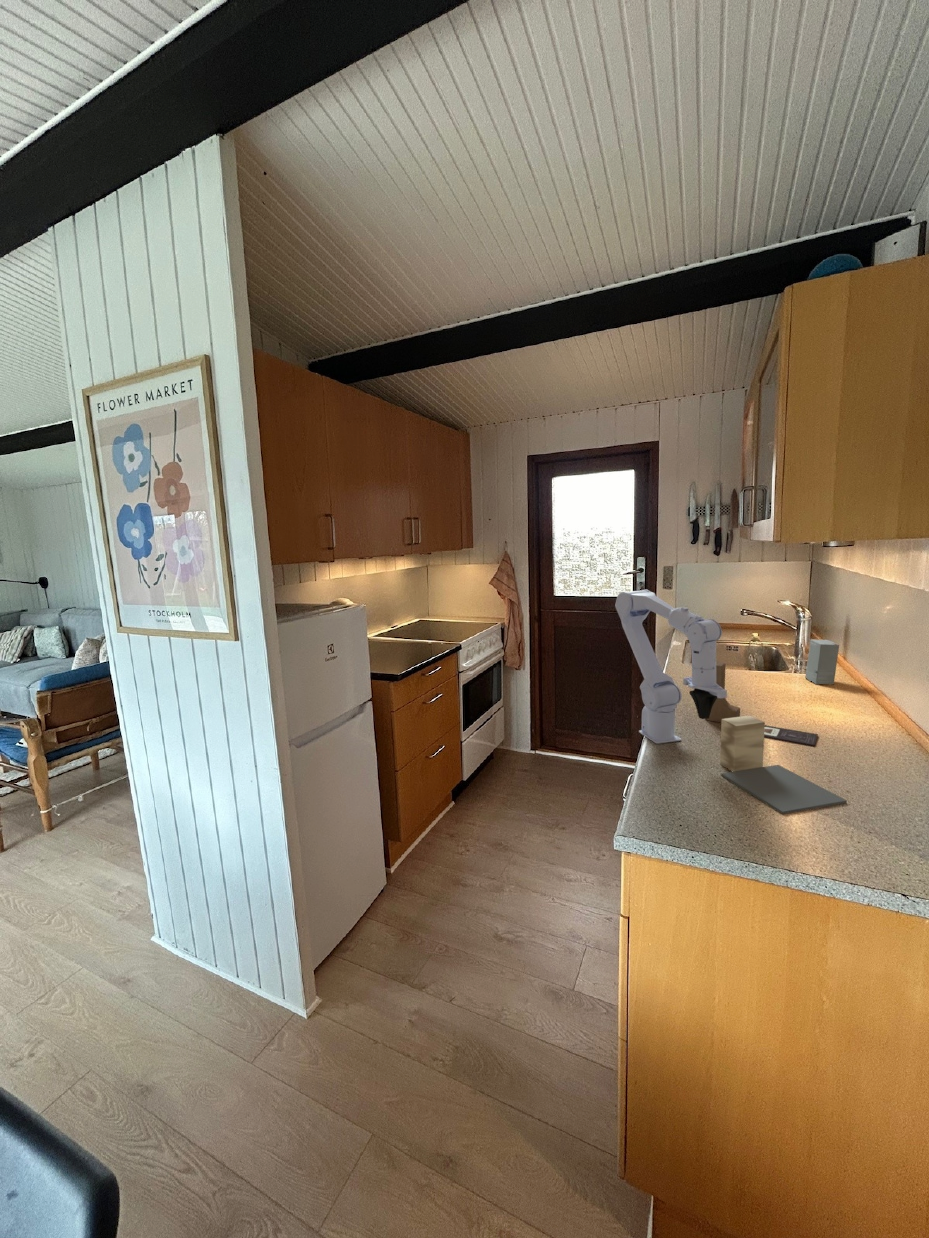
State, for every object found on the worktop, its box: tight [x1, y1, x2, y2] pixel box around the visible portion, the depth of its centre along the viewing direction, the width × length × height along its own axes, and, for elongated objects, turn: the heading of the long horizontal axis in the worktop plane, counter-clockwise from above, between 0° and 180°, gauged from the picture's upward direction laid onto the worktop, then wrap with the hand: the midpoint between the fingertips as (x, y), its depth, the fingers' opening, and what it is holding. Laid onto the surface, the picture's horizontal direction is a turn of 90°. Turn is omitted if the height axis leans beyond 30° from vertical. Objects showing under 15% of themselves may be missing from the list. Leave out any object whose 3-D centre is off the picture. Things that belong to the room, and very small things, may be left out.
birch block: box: [719, 715, 766, 772], centre depth 124 cm, size 5×8×12 cm, turn 102°
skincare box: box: [805, 638, 840, 685], centre depth 189 cm, size 8×7×16 cm
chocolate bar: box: [764, 724, 819, 748], centre depth 144 cm, size 9×1×18 cm
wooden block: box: [704, 661, 741, 724], centre depth 154 cm, size 9×4×18 cm, turn 49°
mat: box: [720, 764, 848, 815], centre depth 114 cm, size 18×16×1 cm
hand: (703, 717), depth 130 cm, fingers closed
